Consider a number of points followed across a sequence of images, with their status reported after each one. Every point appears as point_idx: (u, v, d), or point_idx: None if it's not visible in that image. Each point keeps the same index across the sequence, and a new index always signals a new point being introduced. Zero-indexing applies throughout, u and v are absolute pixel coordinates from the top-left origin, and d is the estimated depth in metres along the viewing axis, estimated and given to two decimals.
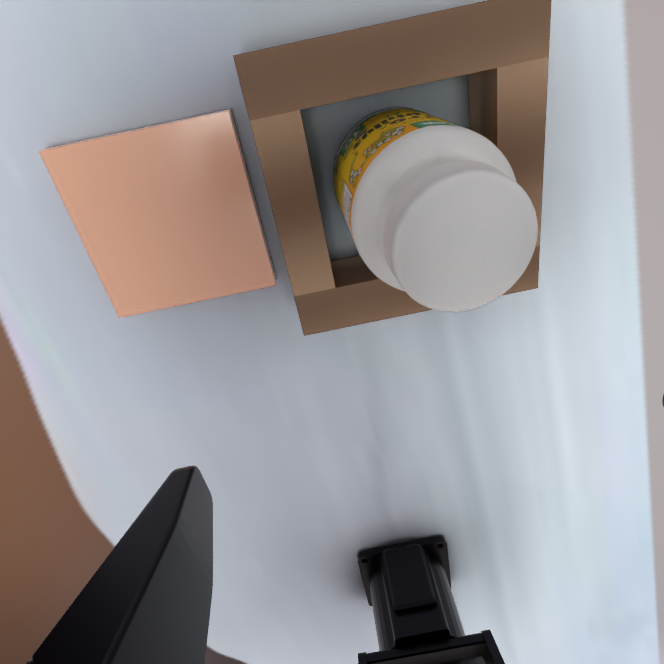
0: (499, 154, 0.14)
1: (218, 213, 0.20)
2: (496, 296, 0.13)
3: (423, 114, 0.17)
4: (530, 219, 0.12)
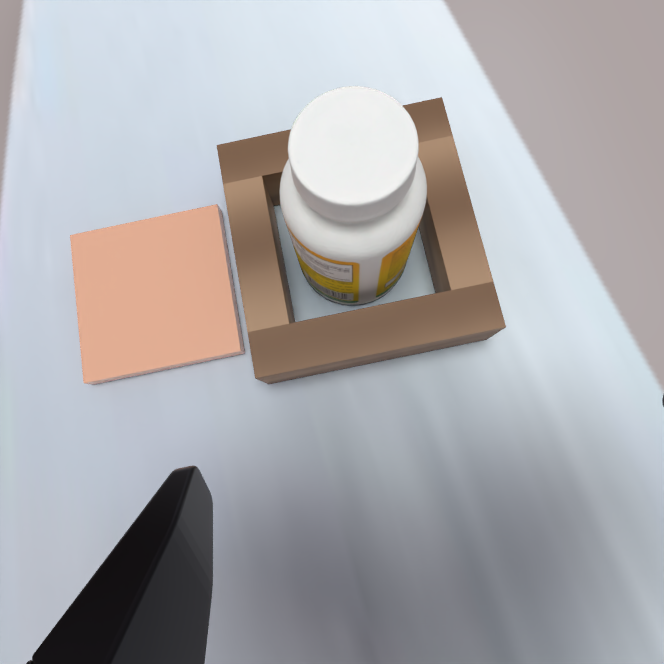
0: None
1: (196, 281, 0.23)
2: (392, 188, 0.14)
3: None
4: (406, 120, 0.14)
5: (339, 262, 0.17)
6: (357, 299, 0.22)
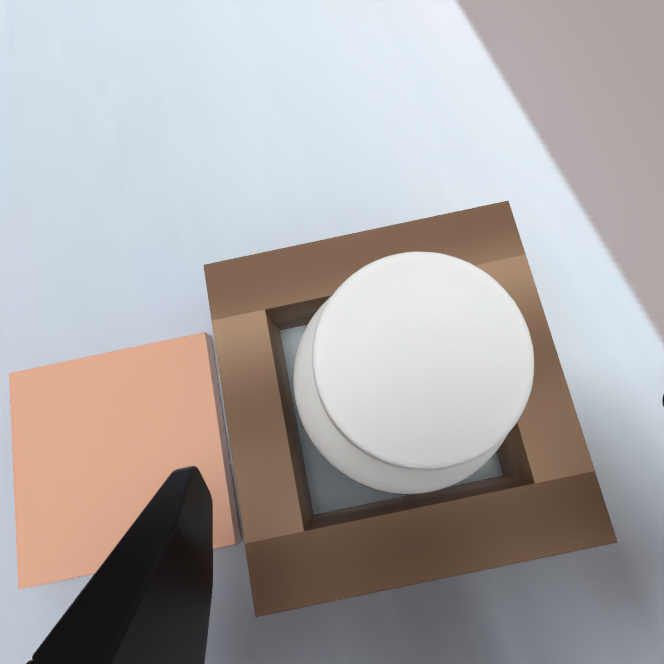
0: None
1: (176, 441, 0.17)
2: (494, 439, 0.08)
3: None
4: (511, 313, 0.08)
5: None
6: None
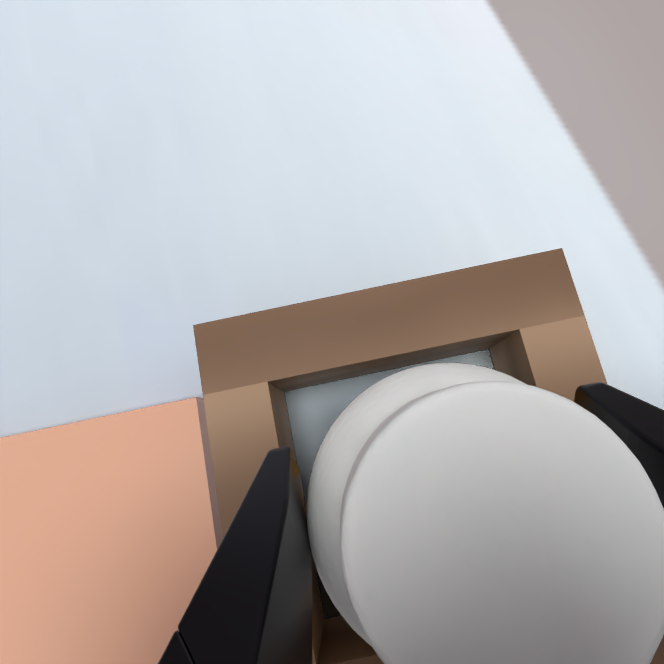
0: None
1: (161, 531, 0.14)
2: None
3: None
4: (636, 481, 0.06)
5: None
6: None
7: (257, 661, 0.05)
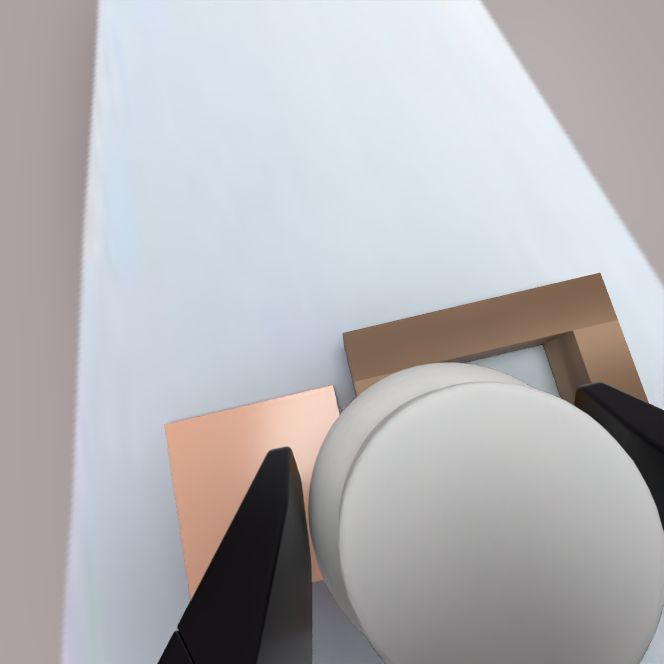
0: None
1: None
2: None
3: None
4: (629, 480, 0.06)
5: None
6: None
7: (257, 661, 0.05)
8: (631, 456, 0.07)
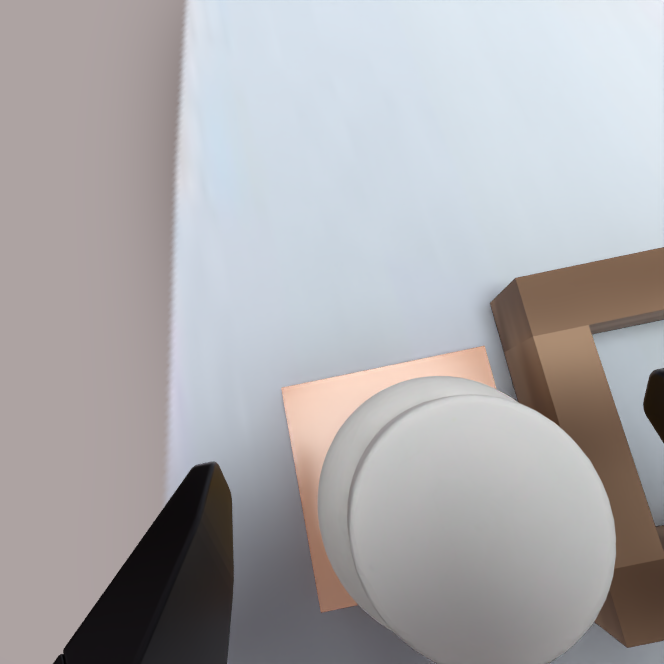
0: None
1: None
2: (570, 640, 0.07)
3: None
4: (587, 476, 0.07)
5: None
6: None
7: None
8: None
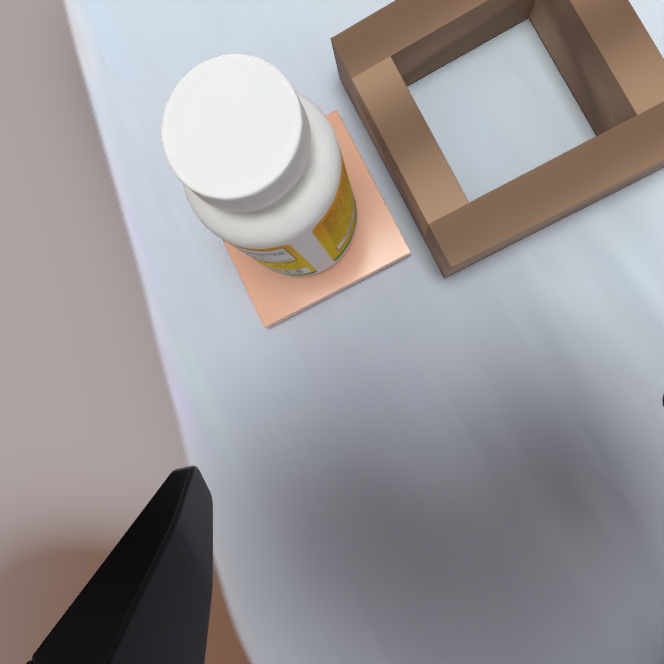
0: None
1: None
2: (283, 164, 0.12)
3: None
4: (280, 80, 0.12)
5: (268, 249, 0.16)
6: (315, 270, 0.20)
7: None
8: None
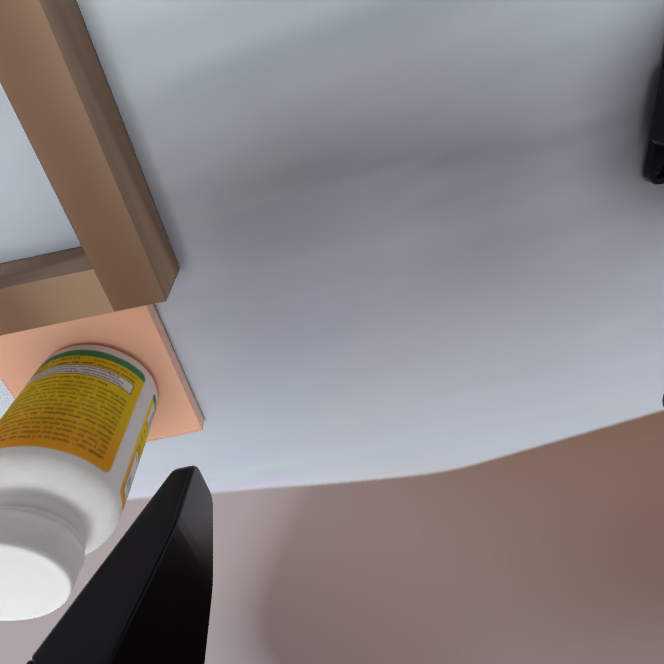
0: None
1: None
2: (40, 558, 0.14)
3: None
4: None
5: (123, 502, 0.17)
6: (152, 399, 0.21)
7: None
8: None
